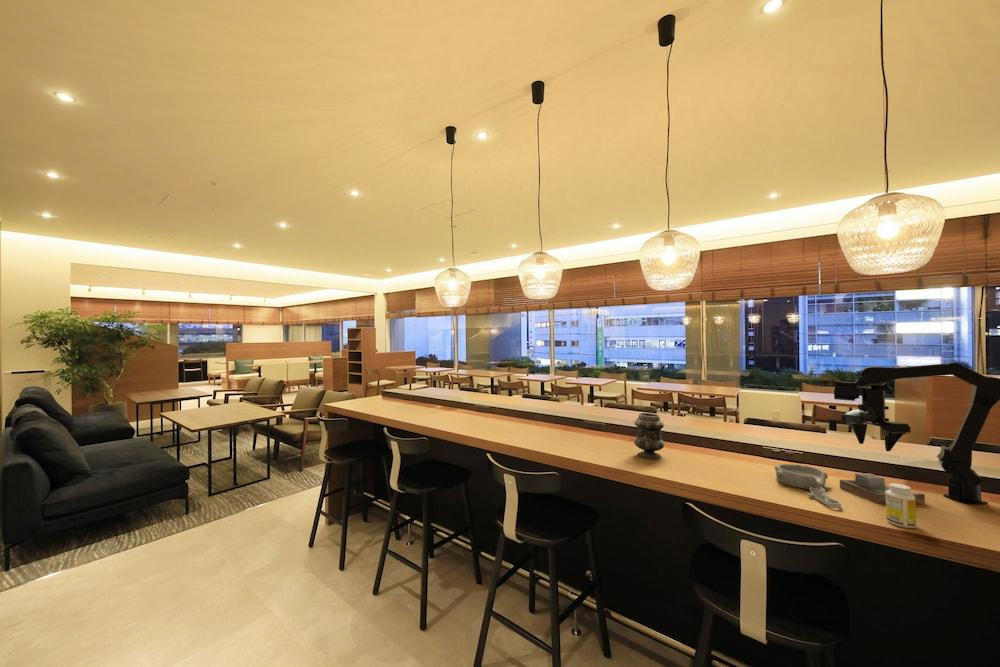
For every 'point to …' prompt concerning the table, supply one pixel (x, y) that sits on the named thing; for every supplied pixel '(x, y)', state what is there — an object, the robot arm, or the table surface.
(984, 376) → the robot arm
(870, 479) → the clip
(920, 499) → the brown square tray
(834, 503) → the bracket
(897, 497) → the supplement bottle
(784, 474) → the dish
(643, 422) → the apothecary jar
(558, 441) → the table surface
